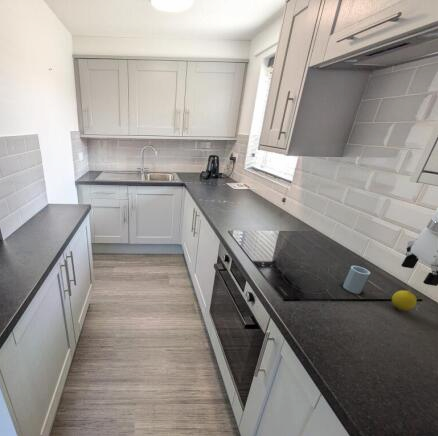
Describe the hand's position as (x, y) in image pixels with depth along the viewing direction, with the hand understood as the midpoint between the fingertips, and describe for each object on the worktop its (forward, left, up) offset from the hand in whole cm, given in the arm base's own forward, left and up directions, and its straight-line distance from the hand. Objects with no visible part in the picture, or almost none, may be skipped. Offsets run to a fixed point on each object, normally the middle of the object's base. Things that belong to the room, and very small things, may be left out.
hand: (417, 275), depth 76 cm
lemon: (0, 0, -15) cm, 15 cm away
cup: (+10, -8, -15) cm, 19 cm away
